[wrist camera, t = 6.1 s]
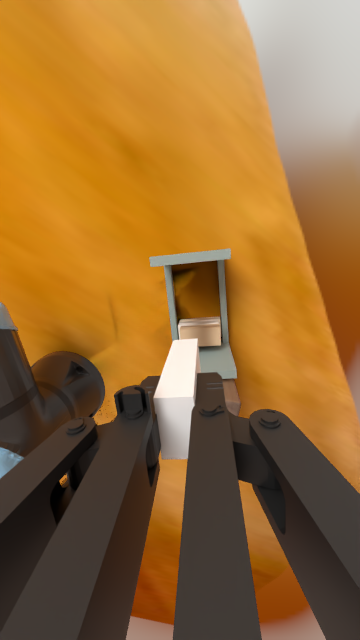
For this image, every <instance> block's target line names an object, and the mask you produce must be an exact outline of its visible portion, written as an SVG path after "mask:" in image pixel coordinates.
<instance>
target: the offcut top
mask: <svg viewBox="0 0 360 640" xmlns="http://www.w3.org/2000/svg"><path fill="white" fill-rule="evenodd" d="M197 338H198V347H199V346H217V345H221V336H220V325H219V324H205V325H190V326H181V327H180V340H183V339H197Z"/></svg>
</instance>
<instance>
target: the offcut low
mask: <svg viewBox="0 0 360 640" xmlns="http://www.w3.org/2000/svg"><path fill="white" fill-rule="evenodd" d="M211 319H218V322H219V325H220V336H221V322H220V316H218V317H203V318H189V319H180V321H179V322H188V321H199V320H211Z"/></svg>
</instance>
